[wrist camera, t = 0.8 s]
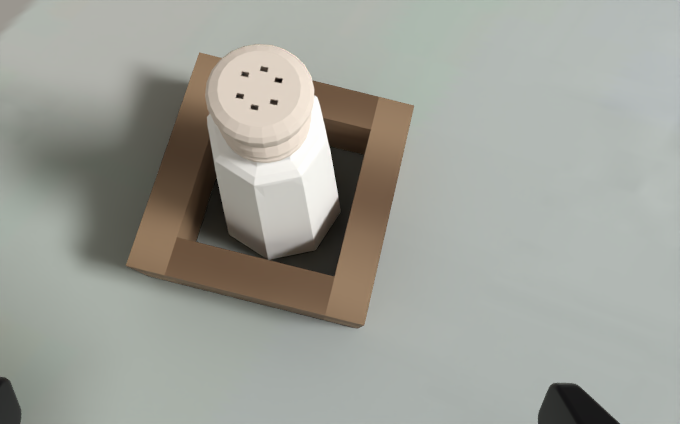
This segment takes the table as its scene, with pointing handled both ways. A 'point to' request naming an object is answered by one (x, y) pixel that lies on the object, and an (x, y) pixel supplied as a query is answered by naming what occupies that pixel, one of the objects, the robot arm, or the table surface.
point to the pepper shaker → (270, 151)
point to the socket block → (256, 273)
